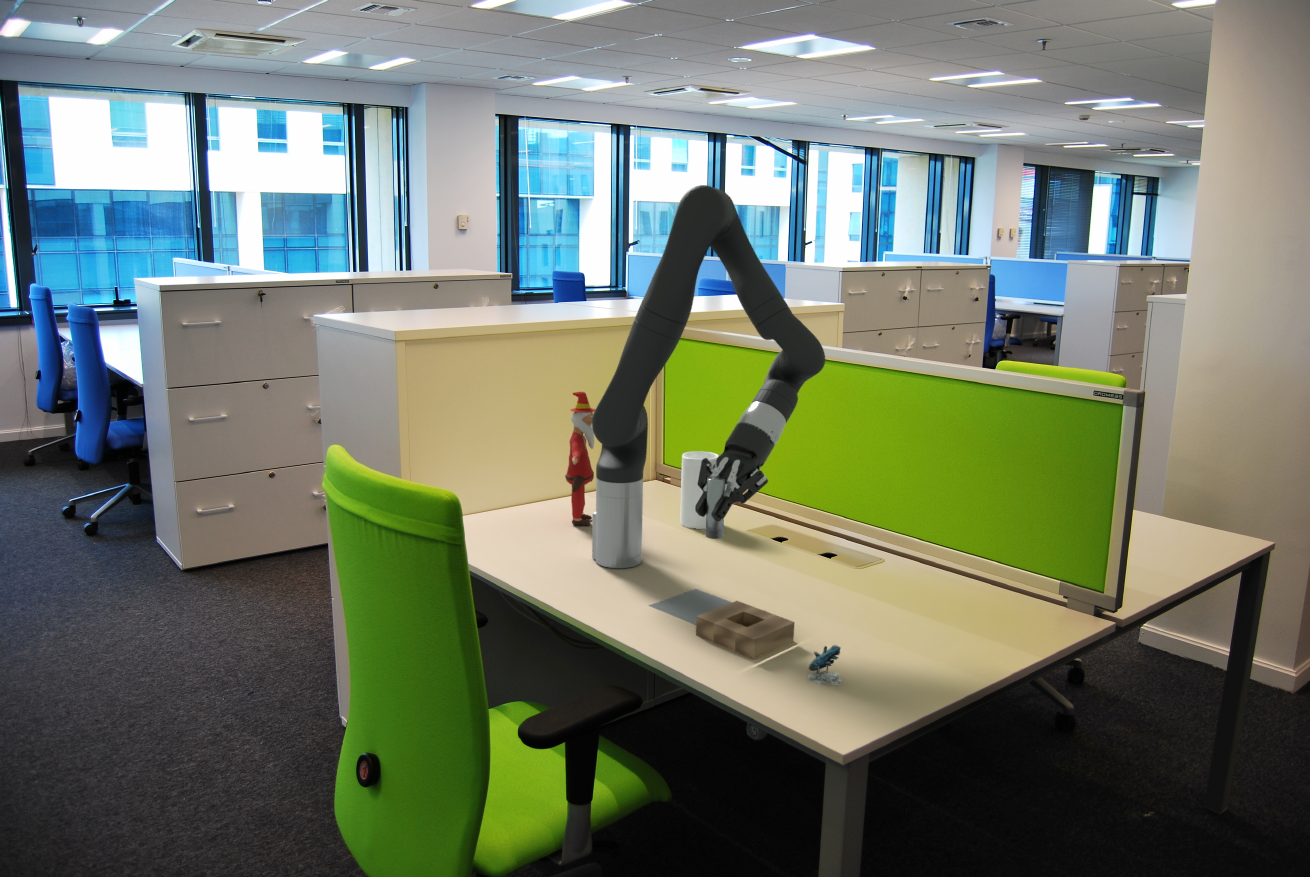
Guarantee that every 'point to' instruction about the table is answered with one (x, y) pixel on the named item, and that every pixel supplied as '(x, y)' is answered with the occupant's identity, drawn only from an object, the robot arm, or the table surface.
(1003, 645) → the table surface
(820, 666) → the sculpture
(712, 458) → the cup
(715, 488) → the peg
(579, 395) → the figurine
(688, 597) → the mat
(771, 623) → the hole block
